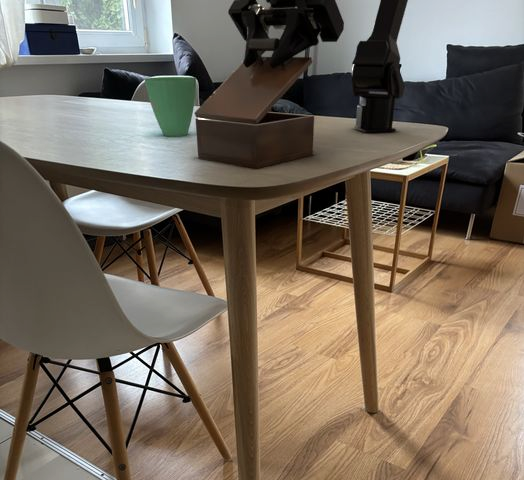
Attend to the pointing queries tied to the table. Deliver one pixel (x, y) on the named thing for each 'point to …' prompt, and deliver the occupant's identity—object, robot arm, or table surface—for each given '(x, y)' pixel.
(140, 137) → the table surface
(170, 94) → the mug
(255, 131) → the keepsake box
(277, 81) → the lid
